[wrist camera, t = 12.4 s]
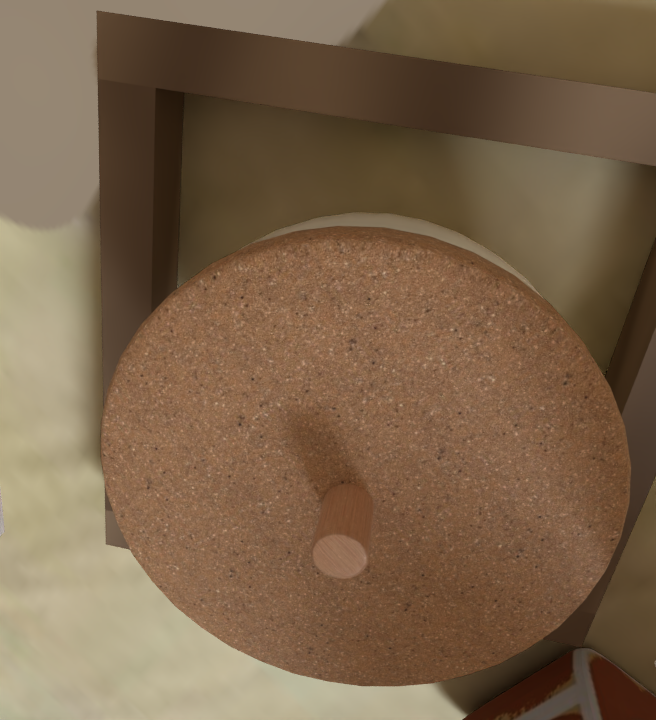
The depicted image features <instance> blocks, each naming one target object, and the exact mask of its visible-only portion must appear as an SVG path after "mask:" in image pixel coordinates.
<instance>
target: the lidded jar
mask: <svg viewBox="0 0 656 720" xmlns="http://www.w3.org/2000/svg"><path fill="white" fill-rule="evenodd" d="M101 462H102V468H103V474H104V480H105V486H106V492H107V496H108V498H109V501H110V504H111V507H112V510H113V512H114V515H115V518H116V521H117V524H118V526H119V528H120V530H121V532H122V534H123V536H124V538H125V540H126V542H127V544H128V546H129V548H130V550H131V552H132V554H133V555H134V557H135V558H136V560H137V561H138V562H139V564H140V565H141V566H142V568H143V569H144V570H145V572H146V573H147V575H148V576H149V577H150V579H151V580H152V581H153V582H154V583H155V585H156V586H157V587H158V588H159V589H160V590H161V591H162V592H163V593H164V594H165V596H166V597H167V598H168V599H169V600H170V601H171V602H172V603H173V604H174V605H175V606H176V607H177V608H178V609H179V610H181V611H182V612H183V613H184V614H186V615H187V616H188V617H189V618H191V619H192V620H193V621H194V622H195V623H197V624H198V625H199V626H200V627H202V628H203V629H205V630H206V631H208V632H209V633H211V634H212V635H214V636H215V637H217V638H218V639H220V640H221V641H223V642H224V643H226V644H227V645H229V646H231V647H233V648H235V649H237V650H239V651H241V652H243V653H245V654H247V655H249V656H251V657H253V658H256V659H258V660H260V661H262V662H265V663H267V664H270V665H273V666H275V667H278V668H281V669H283V670H286V671H289V672H291V673H294V674H299V675H303V676H307V677H312V678H316V679H320V680H324V681H330V682H337V683H344V684H351V685H358V686H406V685H418V684H429V683H435V682H440V681H444V680H448V679H453V678H457V677H461V676H465V675H469V674H471V673H474V672H477V671H480V670H483V669H486V668H489V667H492V666H495V665H498V664H500V663H502V662H504V661H506V660H508V659H509V658H511V657H513V656H515V655H517V654H519V653H520V652H522V651H524V650H526V649H528V648H530V647H531V646H533V645H534V644H535V643H537V642H538V641H540V640H541V639H543V638H544V637H545V636H547V635H548V634H550V633H551V632H553V631H554V630H555V629H557V628H558V627H559V626H560V625H561V624H562V623H563V622H564V621H565V620H566V619H567V618H568V617H569V616H570V615H571V614H572V613H573V612H574V611H575V610H576V609H577V608H578V607H579V606H580V605H581V604H582V603H583V601H584V600H585V599H586V598H587V596H588V595H589V594H590V592H591V591H592V589H593V588H594V587H595V585H596V584H597V582H598V581H599V580H600V578H601V577H602V575H603V574H604V572H605V571H606V569H607V567H608V565H609V562H610V560H611V558H612V556H613V554H614V552H615V549H616V547H617V545H618V543H619V541H620V538H621V535H622V531H623V527H624V523H625V519H626V514H627V510H628V506H629V500H630V477H631V462H630V456H629V449H628V443H627V437H626V430H625V425H624V423H623V420H622V417H621V414H620V412H619V409H618V406H617V404H616V401H615V398H614V395H613V393H612V390H611V387H610V386H609V384H608V382H607V381H606V379H605V377H604V376H603V374H602V372H601V371H600V369H599V367H598V366H597V364H596V362H595V361H594V359H593V357H592V356H591V354H590V352H589V351H588V349H587V347H586V346H585V344H584V343H583V341H582V340H581V338H580V337H579V336H578V335H577V334H576V333H575V331H574V330H573V329H572V328H571V327H570V326H569V325H568V324H567V322H566V321H565V320H564V319H563V318H562V317H561V316H560V314H559V313H558V312H557V311H556V310H555V309H554V308H553V306H552V305H551V304H550V303H548V302H547V301H546V300H545V299H544V298H543V297H542V296H541V295H540V294H539V292H538V291H537V290H536V289H535V288H534V287H533V286H532V285H531V283H530V282H529V281H528V280H527V279H526V278H525V277H524V276H522V275H521V274H520V273H519V272H517V271H516V270H515V269H514V268H513V267H511V266H510V265H509V264H508V263H506V262H505V261H504V260H503V259H501V258H500V257H499V256H498V255H496V254H495V253H493V252H492V251H490V250H489V249H487V248H485V247H484V246H482V245H480V244H478V243H476V242H475V241H473V240H471V239H469V238H468V237H466V236H464V235H462V234H460V233H459V232H456V231H453V230H451V229H448V228H445V227H442V226H440V225H437V224H434V223H431V222H429V221H426V220H422V219H416V218H411V217H406V216H401V215H396V214H391V213H361V212H354V213H346V214H338V215H330V216H323V217H318V218H315V219H311V220H308V221H305V222H301V223H298V224H294V225H291V226H288V227H284V228H281V229H278V230H276V231H274V232H272V233H270V234H268V235H266V236H264V237H261V238H259V239H257V240H255V241H253V242H251V243H249V244H247V245H245V246H244V247H242V248H241V249H239V250H238V251H236V252H234V253H232V254H230V255H228V256H226V257H224V258H222V259H220V260H218V261H216V262H214V263H212V264H210V265H209V266H208V267H206V268H205V269H203V270H202V271H201V272H199V273H198V274H197V275H195V276H194V277H192V278H191V279H190V280H188V281H187V282H186V283H184V284H183V285H181V286H180V287H179V288H177V289H176V290H175V291H173V292H172V293H171V294H170V295H169V296H168V297H167V298H166V299H165V300H164V301H163V302H162V303H161V304H160V305H159V306H158V307H157V308H156V309H155V310H154V311H153V312H152V314H151V315H150V316H149V317H148V318H147V319H146V320H145V321H144V322H143V323H142V324H141V325H140V327H139V329H138V330H137V332H136V333H135V335H134V336H133V338H132V339H131V341H130V343H129V344H128V346H127V347H126V349H125V350H124V352H123V353H122V355H121V357H120V359H119V362H118V364H117V367H116V369H115V372H114V374H113V377H112V379H111V382H110V384H109V387H108V390H107V395H106V400H105V405H104V410H103V415H102V420H101Z"/></svg>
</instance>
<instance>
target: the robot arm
mask: <svg viewBox="0 0 656 720" xmlns="http://www.w3.org/2000/svg"><path fill="white" fill-rule="evenodd" d="M4 532H5V531H4V521H3V510H2V500H1V490H0V536H1V535H2V534H3V533H4ZM654 664H655V667H656V660H655V662H654Z"/></svg>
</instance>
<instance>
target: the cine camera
mask: <svg viewBox="0 0 656 720" xmlns="http://www.w3.org/2000/svg"><path fill="white" fill-rule="evenodd" d="M462 720H656V696H655V695H654V694H652V693H651V692H650V691H649V690H647V689H646V688H645V687H643V686H642V685H641V684H640V683H638V682H637V681H636V680H634V679H633V678H632V677H631V676H629V675H628V674H627V673H625V672H624V671H623V670H621V669H620V668H619V667H617V666H616V665H615V664H613V663H612V662H611V661H609V660H608V659H607V658H605V657H604V656H603V655H601V654H599V653H598V652H596V651H594V650H592V649H589V648H579V649H574V650H572V651H569V652H568V653H566V654H565V655H563V656H561V657H560V658H558V659H557V660H555V661H553V662H552V663H550V664H549V665H547V666H545V667H544V668H542V669H541V670H539V671H537V672H536V673H534V674H533V675H531V676H529V677H528V678H526V679H525V680H523V681H521V682H520V683H518V684H517V685H515V686H513V687H512V688H510V689H509V690H507V691H505V692H504V693H502V694H501V695H499V696H497V697H496V698H494V699H493V700H491V701H489V702H488V703H486V704H485V705H483V706H481V707H480V708H478V709H477V710H475V711H474V712H473V713H471V714H470V715H468V716H467V717H465V718H464V719H462Z"/></svg>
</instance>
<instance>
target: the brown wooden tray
mask: <svg viewBox="0 0 656 720" xmlns="http://www.w3.org/2000/svg"><path fill="white" fill-rule="evenodd" d="M97 59H98V115H99V175H100V233H101V290H102V348H103V406H104V405H105V400H106V395H107V390H108V387H109V384H110V382H111V379H112V377H113V374H114V372H115V369H116V367H117V364H118V362H119V359H120V357H121V355H122V353H123V352H124V350H125V349H126V347H127V346H128V344H129V343H130V341H131V339H132V338H133V336H134V335H135V333H136V332H137V330H138V329H139V327H140V325H141V324H142V323H143V322H144V321H145V320H146V319H147V318H148V317H149V316H150V315H151V314H152V312H153V311H154V310H155V309H156V308H157V307H158V306H159V305H160V304H161V303H162V302H163V301H164V300H165V299H166V298H167V297H168V296H169V295H170V294H171V293H172V292H173V291H175V290H176V289H177V271H178V243H179V216H180V188H181V161H182V133H183V106H184V92H185V93H192V94H198V95H204V96H211V97H217V98H224V99H230V100H236V101H243V102H249V103H256V104H262V105H268V106H275V107H281V108H288V109H294V110H300V111H307V112H313V113H320V114H326V115H332V116H339V117H345V118H351V119H358V120H364V121H371V122H377V123H383V124H390V125H396V126H403V127H409V128H415V129H422V130H428V131H435V132H441V133H447V134H454V135H460V136H467V137H473V138H479V139H486V140H492V141H499V142H505V143H511V144H518V145H524V146H531V147H537V148H543V149H550V150H556V151H563V152H569V153H575V154H582V155H588V156H595V157H601V158H607V159H614V160H620V161H626V162H633V163H639V164H646V165H652V166H656V93H651V92H644V91H638V90H631V89H624V88H617V87H610V86H604V85H597V84H590V83H583V82H577V81H570V80H563V79H556V78H549V77H543V76H536V75H529V74H522V73H516V72H509V71H502V70H495V69H488V68H482V67H475V66H468V65H461V64H455V63H448V62H441V61H434V60H427V59H421V58H414V57H407V56H400V55H394V54H387V53H380V52H373V51H366V50H360V49H353V48H346V47H339V46H333V45H326V44H319V43H312V42H305V41H299V40H292V39H285V38H278V37H271V36H265V35H258V34H251V33H244V32H237V31H231V30H223V29H217V28H211V27H203V26H197V25H190V24H183V23H177V22H170V21H163V20H156V19H150V18H142V17H136V16H129V15H122V14H115V13H109V12H102V11H97ZM605 379H606V381H607V382H608V384H609V386H610V387H611V390H612V393H613V395H614V398H615V401H616V404H617V406H618V409H619V412H620V414H621V417H622V420H623V423H624V425H625V430H626V437H627V443H628V449H629V456H630V462H631V477H630V500H629V506H628V510H627V514H626V519H625V523H624V527H623V531H622V535H621V538H620V541H619V543H618V545H617V547H616V549H615V552H614V554H613V556H612V558H611V560H610V562H609V565H608V567H607V569H606V571H605V572H604V574H603V575H602V577H601V578H600V580H599V581H598V582H597V584H596V585H595V587H594V588H593V589H592V591H591V592H590V594H589V595H588V596H587V598H586V599H585V600H584V601H583V603H582V604H581V605H580V606H579V607H578V608H577V609H576V610H575V611H574V612H573V613H572V614H571V615H570V616H569V617H568V618H567V619H566V620H565V621H564V622H563V623H562V624H561V625H560V626H559V627H558V628H557V629H555V630H554V631H553V632H551V633H550V634H548V635H547V636H545V637H544V638H543V639H545V640H550V641H555V642H559V643H564V644H569V645H573V646H578V647H581V646H582V644H583V642H584V639H585V637H586V635H587V633H588V630H589V628H590V626H591V623H592V621H593V619H594V617H595V614H596V612H597V610H598V607H599V605H600V603H601V600H602V598H603V596H604V594H605V591H606V589H607V587H608V584H609V582H610V580H611V577H612V575H613V573H614V571H615V568H616V566H617V564H618V561H619V559H620V557H621V554H622V552H623V550H624V548H625V545H626V543H627V541H628V538H629V536H630V534H631V531H632V529H633V527H634V525H635V522H636V520H637V518H638V515H639V513H640V511H641V508H642V506H643V504H644V502H645V499H646V497H647V495H648V492H649V490H650V488H651V485H652V483H653V481H654V479H655V476H656V239H655V241H654V244H653V247H652V250H651V252H650V255H649V258H648V261H647V263H646V266H645V269H644V272H643V274H642V277H641V280H640V283H639V285H638V288H637V291H636V294H635V296H634V299H633V302H632V305H631V307H630V310H629V313H628V316H627V318H626V321H625V324H624V327H623V329H622V332H621V335H620V338H619V340H618V343H617V346H616V349H615V351H614V354H613V357H612V360H611V362H610V365H609V368H608V371H607V373H606V376H605ZM105 522H106V544H107V545H112V546H116V547H121V548H126V549H130V548H129V546H128V544H127V542H126V540H125V538H124V536H123V534H122V532H121V530H120V528H119V526H118V524H117V521H116V518H115V515H114V512H113V510H112V507H111V504H110V501H109V498H108V496H107V492H106V486H105Z"/></svg>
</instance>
